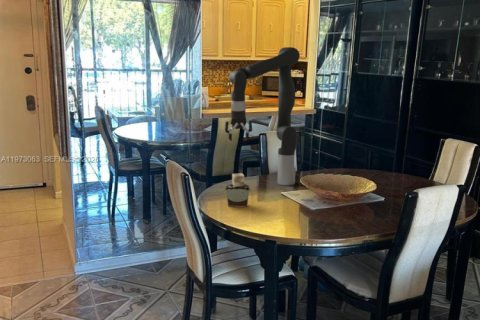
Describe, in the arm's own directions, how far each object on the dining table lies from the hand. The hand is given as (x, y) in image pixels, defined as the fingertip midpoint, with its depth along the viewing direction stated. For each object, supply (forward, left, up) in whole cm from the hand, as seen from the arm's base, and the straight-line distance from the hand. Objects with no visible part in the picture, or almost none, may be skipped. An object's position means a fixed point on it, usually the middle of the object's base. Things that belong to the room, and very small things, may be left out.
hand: (238, 140), depth 236 cm
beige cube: (+5, +25, -17) cm, 30 cm away
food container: (+5, +25, -28) cm, 37 cm away
